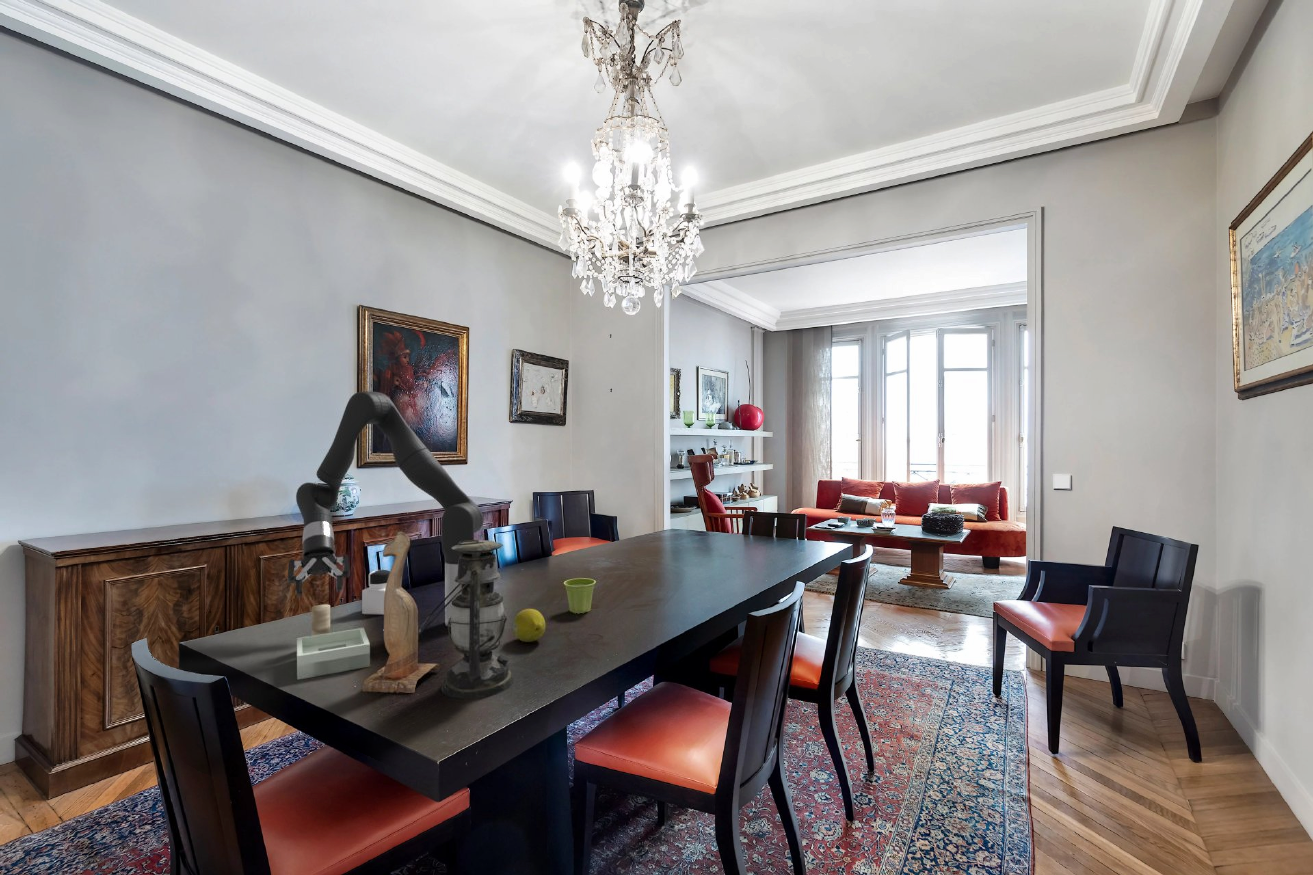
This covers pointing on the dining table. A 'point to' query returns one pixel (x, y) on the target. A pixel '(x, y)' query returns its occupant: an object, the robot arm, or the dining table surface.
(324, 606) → the peg
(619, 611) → the dining table surface
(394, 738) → the dining table surface
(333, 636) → the socket box
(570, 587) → the plant pot
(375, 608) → the medicine bottle
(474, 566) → the lantern
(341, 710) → the dining table surface
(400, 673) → the bird sculpture
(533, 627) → the lemon
